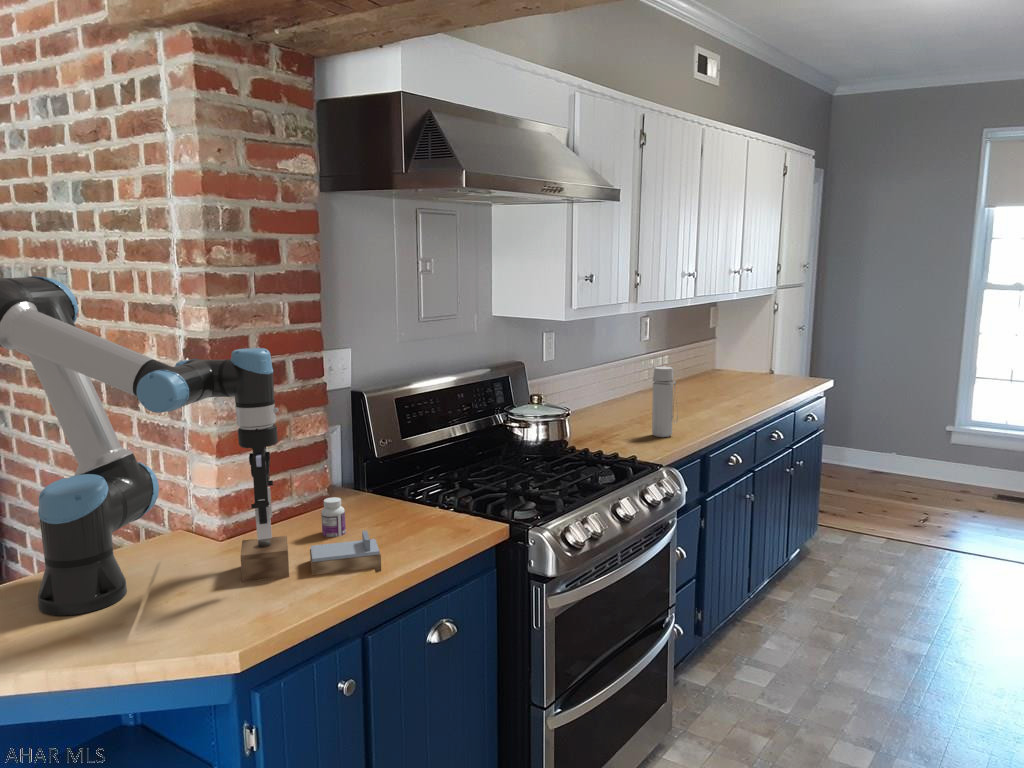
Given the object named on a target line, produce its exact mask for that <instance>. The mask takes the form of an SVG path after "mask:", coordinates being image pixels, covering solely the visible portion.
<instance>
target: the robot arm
mask: <svg viewBox="0 0 1024 768" xmlns="http://www.w3.org/2000/svg"><path fill="white" fill-rule="evenodd" d="M78 313H79V305H78V302H77V299H76V297H75V295H74V293H73V292H72V291H71V289H70V288H69V287H68V286H66V285H65V284H64V283H63V282H61V281H59V280H57V279H54V278H51V277H43V276H34V275H32V276H31V275H30V276H26V277H25V276H24V277H4V278H1V277H0V347H1V348H3V349H6V350H9V351H14V350H15V351H16V352H17V353H20V354H22V355H25V356H27V357H28V359H29V360H30V363H31V365H32V368H33V369H34V372H35V373H36V375H37V378H38V380H39V382H40V384H41V386H42V389H43V391H44V394H45V395H46V398H47V399H48V401H49V402H48V403H50V406H51V407H52V410H53V412H54V415H55V417H56V418H57V421H58V423H59V425H60V427H61V430H62V432H63V434H64V436H65V439H66V440H67V443H68V445H69V447H70V449H71V451H72V453H73V455H74V458H75V459H76V463H77V468H76V471H75V473H74V475H71V476H69V477H68V478H61V479H58V480H56V481H54V482H51V483H49V484H47V486H45V487H44V488H43V489H42V490H41V491H40V493H39V496H38V510H37V512H38V513H37V514H38V517H39V525H40V530H41V531H40V532H41V540H42V549H43V556H44V559H43V560H44V572H43V574H42V579H41V583H40V587H39V591H38V594H37V602H38V609H39V611H40V612H41V613H44V614H46V615H51V616H74V615H80V614H87V613H91V612H95V611H97V610H101V609H105V608H107V607H109V606H111V605H114V604H115V603H118V602H119V601H120V600H122V599H123V598H124V597H125V596H126V594H127V592H128V588H127V581H126V577H125V576H124V574H123V572H122V570H121V567H120V565H119V563H118V561H117V559H116V558H115V555H114V547H113V546H114V545H113V536H112V533H114V532H116V531H117V530H120V529H122V528H123V527H125V526H127V525H129V524H130V523H133V522H135V521H138V520H139V519H141V518H143V516H144V515H145V514H147V513H148V512H149V511H151V510H152V508H154V506H155V505H156V502H157V500H158V497H159V493H160V492H159V491H160V486H159V481H158V478H157V476H156V474H155V472H154V471H153V469H152V468H151V467H150V466H148V465H145V464H144V463H142V462H141V461H140V462H139V461H137V458H136V456H135V454H134V451H132V450H128V449H127V448H124V447H122V445H121V443H120V441H119V439H118V436H117V434H116V431H115V430H114V427H113V426H112V422H111V421H110V419H109V417H108V414H107V413H106V410H105V408H104V406H103V404H102V401H101V400H100V397H99V395H98V391H96V388H95V385H94V384H93V382H92V379H94V380H95V381H98V382H101V383H103V384H105V385H108V386H110V387H113V388H115V389H118V390H120V391H123V392H125V393H128V394H129V395H132V396H135V397H137V400H138V401H139V403H140V405H142V406H143V407H144V409H146V410H147V411H149V412H152V413H158V414H159V413H166V412H173V411H175V410H178V409H180V408H184V407H185V406H188V405H191V404H194V403H196V402H200V401H202V400H205V399H208V398H232V397H234V403H235V404H234V405H235V406H234V408H235V409H234V410H235V418H236V425H237V427H239V428H238V429H237V439H238V445H239V447H240V448H243V449H252V453H249V456H248V462H249V465H250V475H251V477H252V480H253V496H254V498H253V499H254V503H251V504H250V508H251V509H254V511H255V512H254V513H255V525H256V537H257V538H256V539H257V540H260V539H268V538H272V537H273V534H272V533H273V532H272V521H271V518H273V507H272V496H271V495H272V493H271V487H272V486H274V483H273V479H272V480H270V478H271V477H270V476H269V475H270V464H271V452H270V451H267V447H272V446H274V445H276V444H277V443H278V442H279V438H278V437H279V436H278V426H277V425H276V422H277V415H276V414H277V413H279V412H280V411H279V407H276V405H275V404H276V402H275V390H274V389H275V388H274V369H273V363H272V356H271V352H270V351H269V350H268V349H267V348H264V347H251V348H249V347H248V348H247V347H246V348H245V347H244V348H238V349H234V350H233V351H232V352H231V355H230V356H231V357H230V358H229V359H198V358H192V359H187V360H180V361H179V360H178V362H176V363H175V364H174V365H175V366H171V365H170V364H167V363H164V362H162V361H160V360H159V361H158V360H156V359H154V358H152V357H150V356H147V355H145V354H142V353H140V352H137V351H135V350H133V349H130V348H128V347H125V346H123V345H120V344H118V343H116V342H113V341H111V340H108V339H106V338H103V337H101V336H98V335H97V334H93V333H91V332H89V331H86V330H84V329H82V328H80V327H76V325H75V323H76V321H77V318H78V316H77V315H78Z"/></svg>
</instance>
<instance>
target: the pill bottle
mask: <svg viewBox="0 0 1024 768" xmlns="http://www.w3.org/2000/svg"><path fill="white" fill-rule="evenodd" d="M320 515H321V516H320V517H321V532H322V536H324V537H326V538H336V537H337V538H338V537H342V536H344V535H346V533H347V528H346V512H345V508H344V507H343V506H342V498H341V497H335V496H333V497H327V498H325V499H324V500H323V508H322V509H321V513H320Z"/></svg>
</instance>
